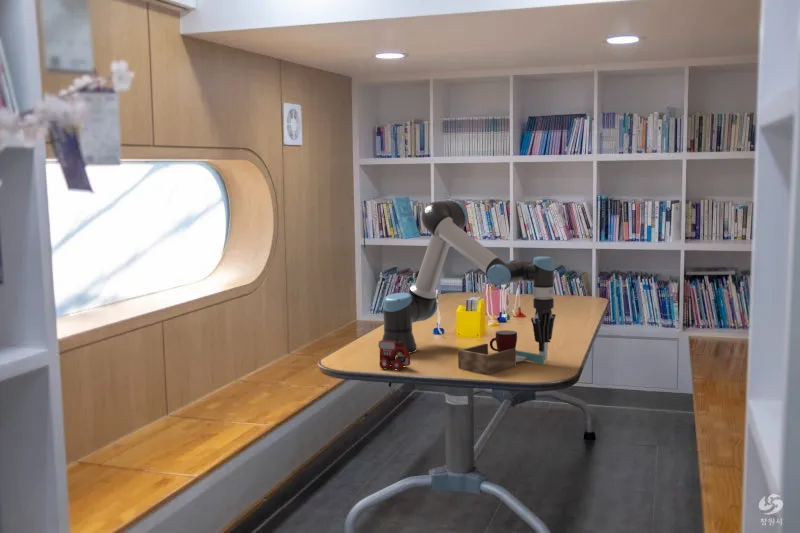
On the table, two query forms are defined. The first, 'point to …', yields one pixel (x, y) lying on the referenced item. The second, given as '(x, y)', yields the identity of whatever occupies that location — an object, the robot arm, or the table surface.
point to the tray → (529, 357)
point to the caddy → (486, 359)
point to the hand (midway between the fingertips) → (543, 359)
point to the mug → (504, 340)
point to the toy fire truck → (393, 354)
